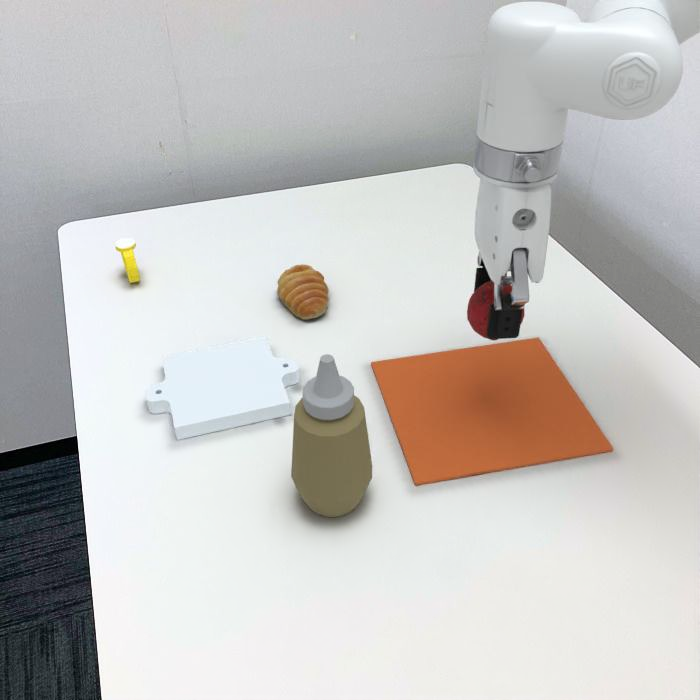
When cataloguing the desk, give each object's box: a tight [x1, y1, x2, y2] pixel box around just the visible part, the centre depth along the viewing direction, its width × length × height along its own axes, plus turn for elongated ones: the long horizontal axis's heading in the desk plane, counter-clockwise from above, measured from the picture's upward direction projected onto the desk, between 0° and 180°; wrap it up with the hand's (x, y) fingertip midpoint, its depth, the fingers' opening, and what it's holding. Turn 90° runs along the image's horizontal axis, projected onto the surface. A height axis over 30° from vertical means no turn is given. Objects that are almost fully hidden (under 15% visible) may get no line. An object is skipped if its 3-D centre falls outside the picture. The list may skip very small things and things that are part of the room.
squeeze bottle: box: [290, 353, 373, 518], centre depth 69 cm, size 8×8×18 cm
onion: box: [466, 276, 526, 341], centre depth 77 cm, size 6×6×8 cm
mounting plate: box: [144, 335, 301, 441], centre depth 87 cm, size 18×13×2 cm
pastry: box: [276, 263, 330, 321], centre depth 100 cm, size 9×7×4 cm
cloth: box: [370, 337, 614, 486], centre depth 85 cm, size 22×20×1 cm
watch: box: [114, 237, 141, 284], centre depth 105 cm, size 6×3×6 cm, turn 23°
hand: (495, 316), depth 77 cm, fingers closed on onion, 5 cm apart
